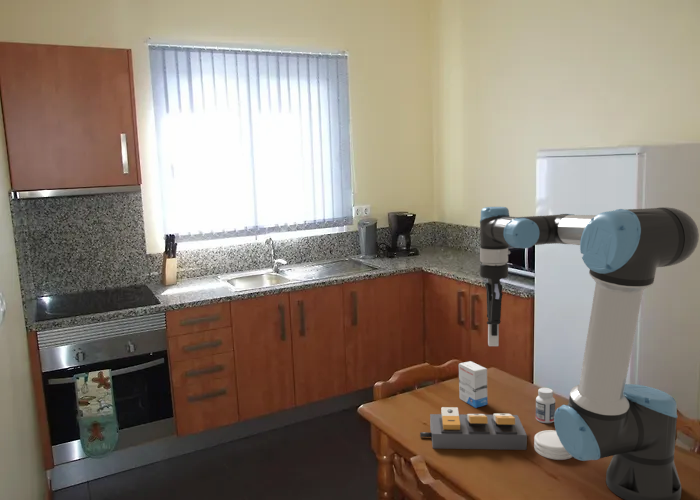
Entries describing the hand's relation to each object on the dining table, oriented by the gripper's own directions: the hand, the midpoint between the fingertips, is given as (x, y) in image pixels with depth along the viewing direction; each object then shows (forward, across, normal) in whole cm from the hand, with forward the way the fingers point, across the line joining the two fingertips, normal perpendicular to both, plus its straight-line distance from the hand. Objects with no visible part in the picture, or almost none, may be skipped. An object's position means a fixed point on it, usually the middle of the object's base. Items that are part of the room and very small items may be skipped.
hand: (493, 345), depth 164 cm
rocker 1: (+16, -12, +13) cm, 24 cm away
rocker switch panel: (+22, -11, +7) cm, 26 cm away
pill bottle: (+23, +1, -15) cm, 27 cm away
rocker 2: (+16, -12, +6) cm, 21 cm away
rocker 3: (+16, -12, -1) cm, 20 cm away
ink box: (+23, +13, +4) cm, 26 cm away
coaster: (+23, -17, -13) cm, 31 cm away
